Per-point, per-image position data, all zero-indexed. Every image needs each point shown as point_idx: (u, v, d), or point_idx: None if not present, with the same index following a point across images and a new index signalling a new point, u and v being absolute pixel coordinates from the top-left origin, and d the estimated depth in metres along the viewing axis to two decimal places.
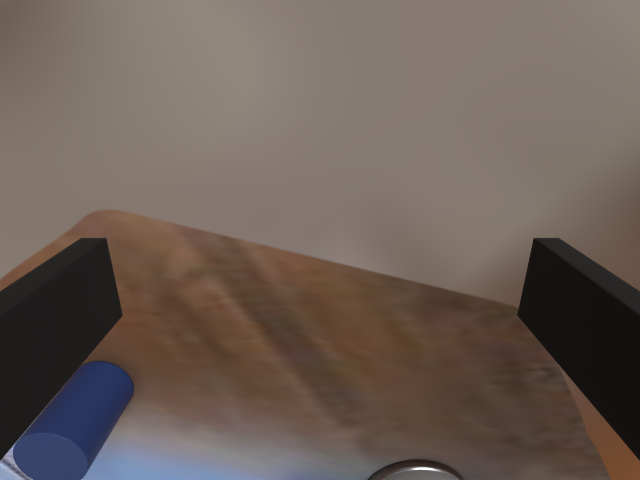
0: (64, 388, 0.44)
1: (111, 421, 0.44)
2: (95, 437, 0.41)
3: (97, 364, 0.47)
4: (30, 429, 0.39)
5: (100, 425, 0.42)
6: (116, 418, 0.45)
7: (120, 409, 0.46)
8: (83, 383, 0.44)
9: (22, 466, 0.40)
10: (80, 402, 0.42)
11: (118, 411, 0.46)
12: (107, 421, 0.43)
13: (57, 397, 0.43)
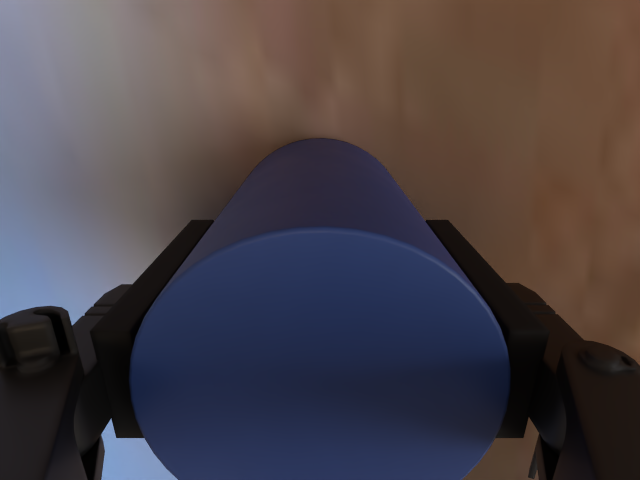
0: (386, 177, 0.12)
1: None
2: None
3: None
4: (432, 245, 0.07)
5: None
6: None
7: None
8: None
9: (199, 301, 0.07)
10: None
11: None
12: None
13: (396, 190, 0.11)
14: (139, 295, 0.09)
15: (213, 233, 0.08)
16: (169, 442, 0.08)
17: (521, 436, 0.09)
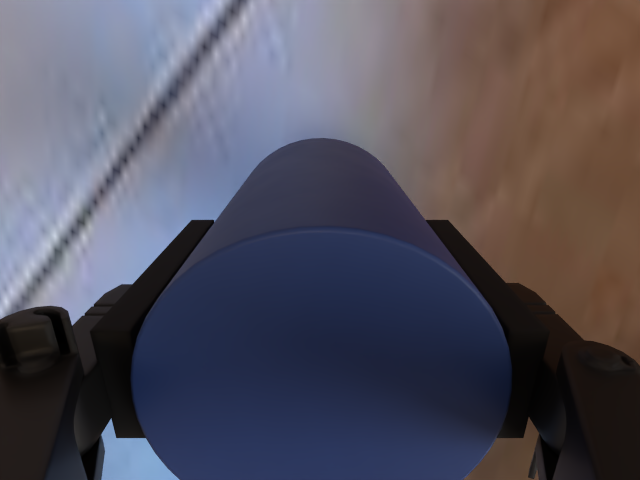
0: (387, 177, 0.12)
1: None
2: None
3: None
4: (433, 245, 0.07)
5: None
6: None
7: None
8: None
9: (201, 301, 0.07)
10: None
11: None
12: None
13: (397, 190, 0.11)
14: (139, 295, 0.09)
15: (215, 233, 0.08)
16: (170, 442, 0.08)
17: (521, 437, 0.09)
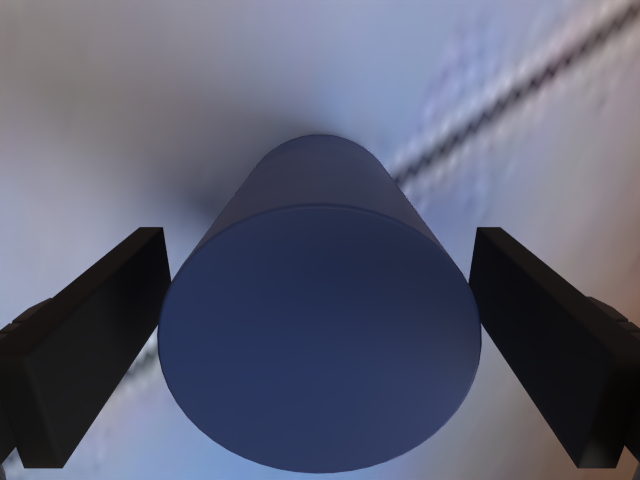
0: (379, 169, 0.14)
1: None
2: None
3: None
4: (414, 222, 0.09)
5: None
6: None
7: None
8: None
9: (219, 267, 0.08)
10: None
11: None
12: None
13: (388, 180, 0.13)
14: (52, 313, 0.08)
15: (228, 213, 0.09)
16: (190, 392, 0.09)
17: (614, 467, 0.08)
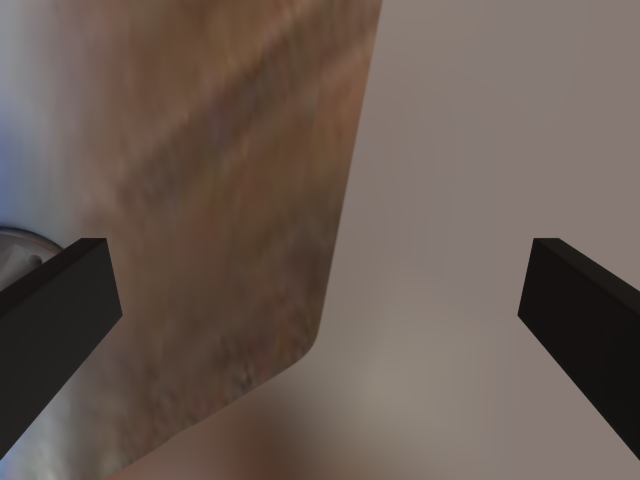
0: None
1: None
2: None
3: None
4: None
5: None
6: None
7: None
8: None
9: None
10: None
11: None
12: None
13: None
14: None
15: None
16: None
17: None
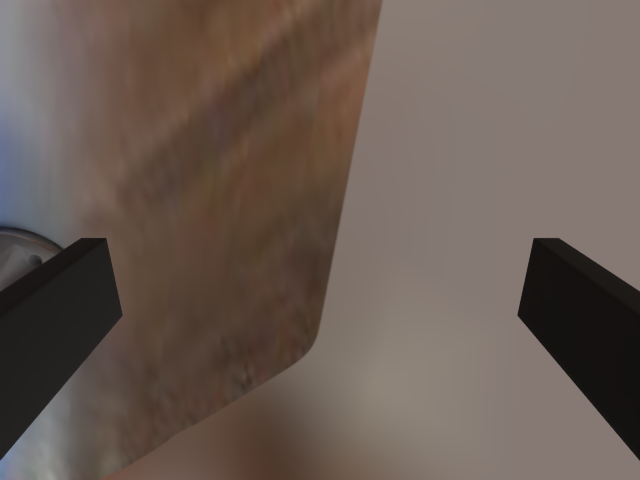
0: None
1: None
2: None
3: None
4: None
5: None
6: None
7: None
8: None
9: None
10: None
11: None
12: None
13: None
14: None
15: None
16: None
17: None
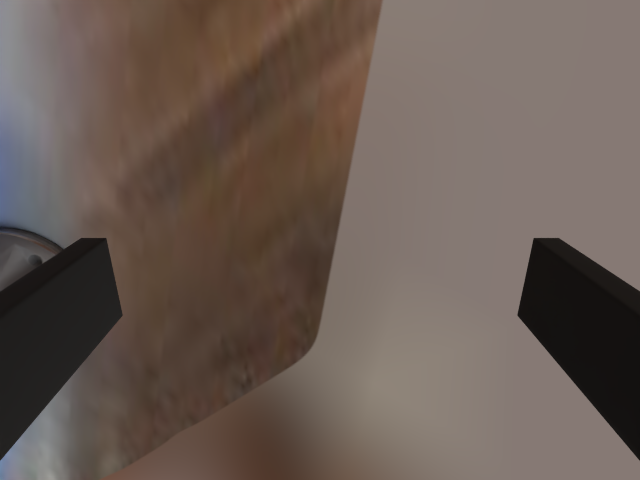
0: None
1: None
2: None
3: None
4: None
5: None
6: None
7: None
8: None
9: None
10: None
11: None
12: None
13: None
14: None
15: None
16: None
17: None
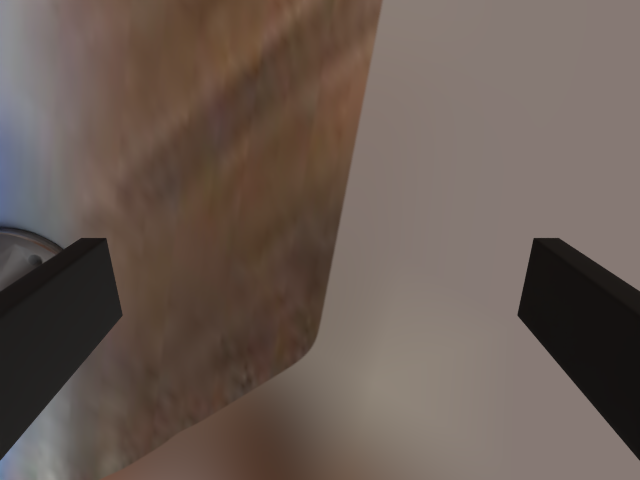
0: None
1: None
2: None
3: None
4: None
5: None
6: None
7: None
8: None
9: None
10: None
11: None
12: None
13: None
14: None
15: None
16: None
17: None
